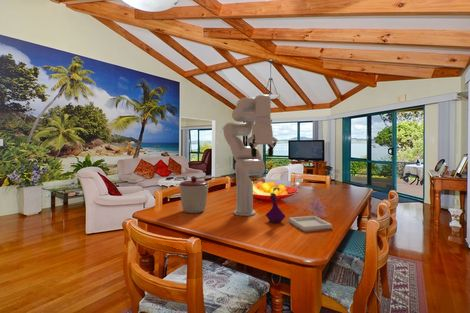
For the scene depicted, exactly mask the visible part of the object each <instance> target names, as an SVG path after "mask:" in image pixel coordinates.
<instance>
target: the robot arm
mask: <svg viewBox="0 0 470 313" xmlns="http://www.w3.org/2000/svg"><path fill="white" fill-rule="evenodd" d="M271 109H272V108H271V96H270V95H268V94H260V95H257V96H255V97H253V96H252V97H249V96H248V97H247V96H246V97H242V98H240V99H238V100H237V103H236V105H235V109H234V110H232V113H231V117H232V120H234V121H236V122H228V123H226V124H224V126H223V137H224V140H225V141H226V143H227V144H228V145H229V148H230V150H231V155H232V156H233V159H234V161H235V163H234V171H235V177H236V178H235V179H236V194H235V195H236V197H235V198H236V207H235V208H236V209H235V210H233V214H234V215H236V216H239V217H248V216H249V217H251V216H254V215H255V214H256V210H254V209H253V206H254V205H253V204H254V203H253V202H254V200H253V198H254V196H253V195H254V193H253V192H254V184H253V181H252V179H251V177H250V176H261V175H263V174H264V173H265V171H266V165H265V161H264V160H263V158H262V155H261V152H260V151H259V149H258V148H257V146H258V145H266V146H267V147H268V149H267V156H268V157H273V156H274V149H275V147H276V145H277V143H278V138H276V137H275V136H274V135H273V134H274V131H273V126H272V122H273V119H272V118H271V111H272V110H271ZM248 136H250V137H248ZM240 137H248V138H247V139H246V143H247V145H248V146H245V145H244V141H243V140H241V138H240Z"/></svg>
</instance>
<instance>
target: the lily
mask: <svg viewBox="0 0 470 313" xmlns="http://www.w3.org/2000/svg"><path fill="white" fill-rule="evenodd" d="M308 201H309V203H310V204H311V205H310V206H309V207H308V208H307V210H308V211H311V214H313V213H314V216H316V217H318V218H319V215H321V216H323V217H324V218H327V217H328V215H327V214H326V213H327V212H325V210H324V209H325V208H327V206H326V205H323V204H322V202H321V199H320V197H319V196H318V197H317V198H316V199H315V201H314V200H312V199H308Z"/></svg>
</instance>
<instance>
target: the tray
mask: <svg viewBox="0 0 470 313" xmlns="http://www.w3.org/2000/svg"><path fill="white" fill-rule="evenodd" d="M288 222H289V223H290V224H291V225H293V226H294V227H295V228H297V229H299V230H300V231H302V232H303V233H306V232H315V231H327V230H333V224H332V223H330V222H328V221H325V220H324V219H322V218H320V217H319V216H318V217H316V216H315V215H308V216H305V215H303V216H296V217H295V216H294V217H289V218H288Z"/></svg>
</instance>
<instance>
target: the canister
mask: <svg viewBox="0 0 470 313" xmlns="http://www.w3.org/2000/svg"><path fill="white" fill-rule="evenodd" d="M209 186H210V183H209V182H207V181H205V180H199V179H198V177H197V176H196V175H195V176H191V177H190V180H184V181H181V182H179V183H178V187H179V193H180V201H181V202H180V203H181V207H182V210H183V212H184V213H187V214H199V213H202V212H204V211H205V209H206V207H207V206H206V205H207V199H208V191H209V190H208V189H209V188H208V187H209Z"/></svg>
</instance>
